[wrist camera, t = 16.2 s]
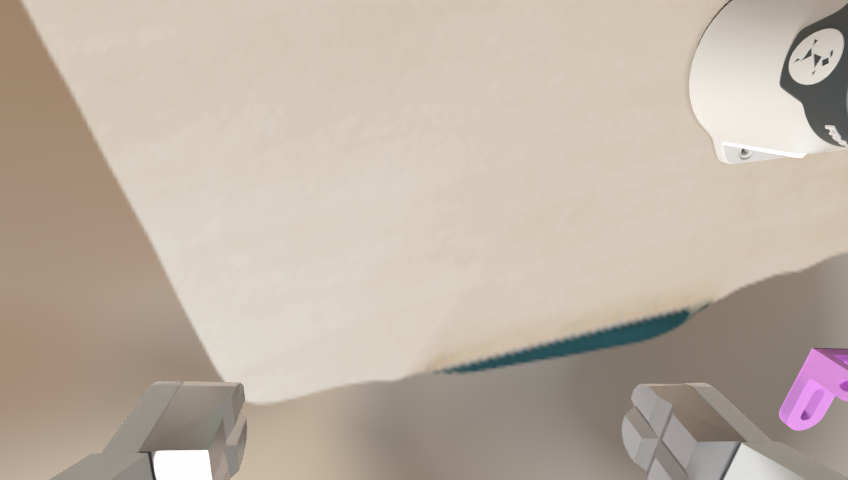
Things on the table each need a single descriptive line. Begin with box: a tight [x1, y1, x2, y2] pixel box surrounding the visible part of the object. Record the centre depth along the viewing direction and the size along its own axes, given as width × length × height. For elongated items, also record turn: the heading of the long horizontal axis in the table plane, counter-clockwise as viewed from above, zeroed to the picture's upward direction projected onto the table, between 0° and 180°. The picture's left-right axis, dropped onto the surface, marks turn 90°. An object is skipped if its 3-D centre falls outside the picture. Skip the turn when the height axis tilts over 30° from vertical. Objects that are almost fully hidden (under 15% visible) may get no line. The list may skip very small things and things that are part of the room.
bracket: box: [779, 348, 848, 430], centre depth 56 cm, size 13×6×7 cm, turn 174°
